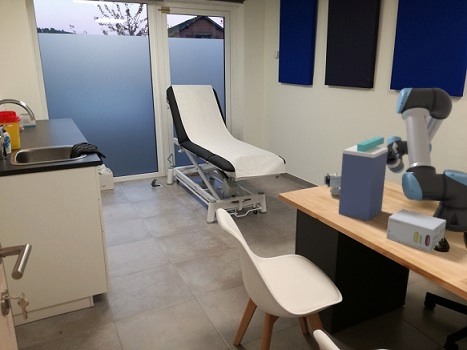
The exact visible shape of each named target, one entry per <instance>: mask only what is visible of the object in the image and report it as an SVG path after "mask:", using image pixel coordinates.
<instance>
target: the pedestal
mask: <svg viewBox="0 0 467 350" xmlns="http://www.w3.org/2000/svg"><path fill="white" fill-rule="evenodd" d="M387 152H388V148H387V147H380V146H376V147H374V148H372V149H369V150H367V151H364V152H361V151H357V144H356V145H353V146H351V147H347V148H345V149H343V150H342V161H341V171H340V172H341V173H340V174H341V185H340V187H339V189H340V195H339V201H338V215H343V216H347V217H350V218H354V219H357V220H358V219H359V220H363V221H366V222H369V221H370V220H372V219H373V218H374V217H375V216H377V215H378V214H379V213H381V212H382V208H383V200H384V199H383V198H384V190H385V188H384V187H385V181H386V180H385V179H386V170H387V165H386V162H387Z"/></svg>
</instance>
